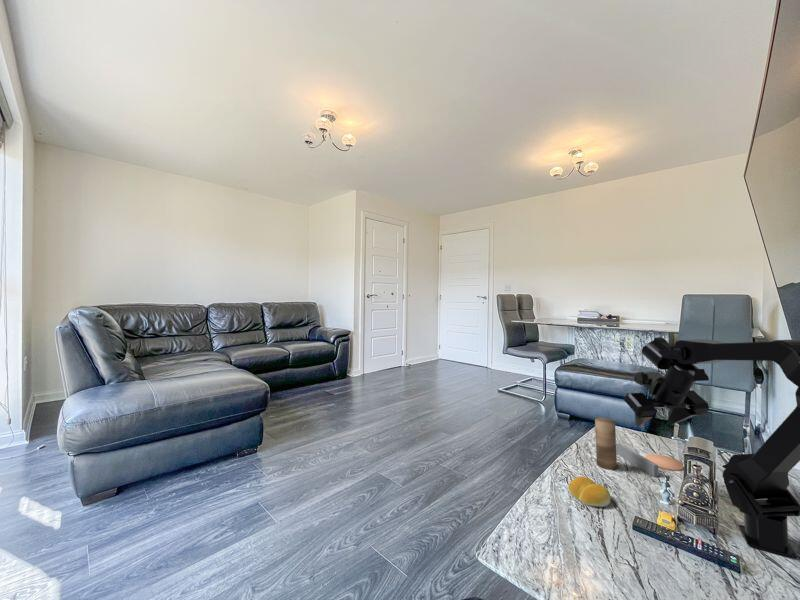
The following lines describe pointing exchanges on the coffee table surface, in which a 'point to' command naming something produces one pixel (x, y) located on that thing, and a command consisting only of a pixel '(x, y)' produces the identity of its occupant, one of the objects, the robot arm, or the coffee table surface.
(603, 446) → the walnut pin
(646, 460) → the grey acrylic wall
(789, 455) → the robot arm
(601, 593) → the coffee table surface
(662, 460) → the terracotta coaster
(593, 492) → the bread roll
